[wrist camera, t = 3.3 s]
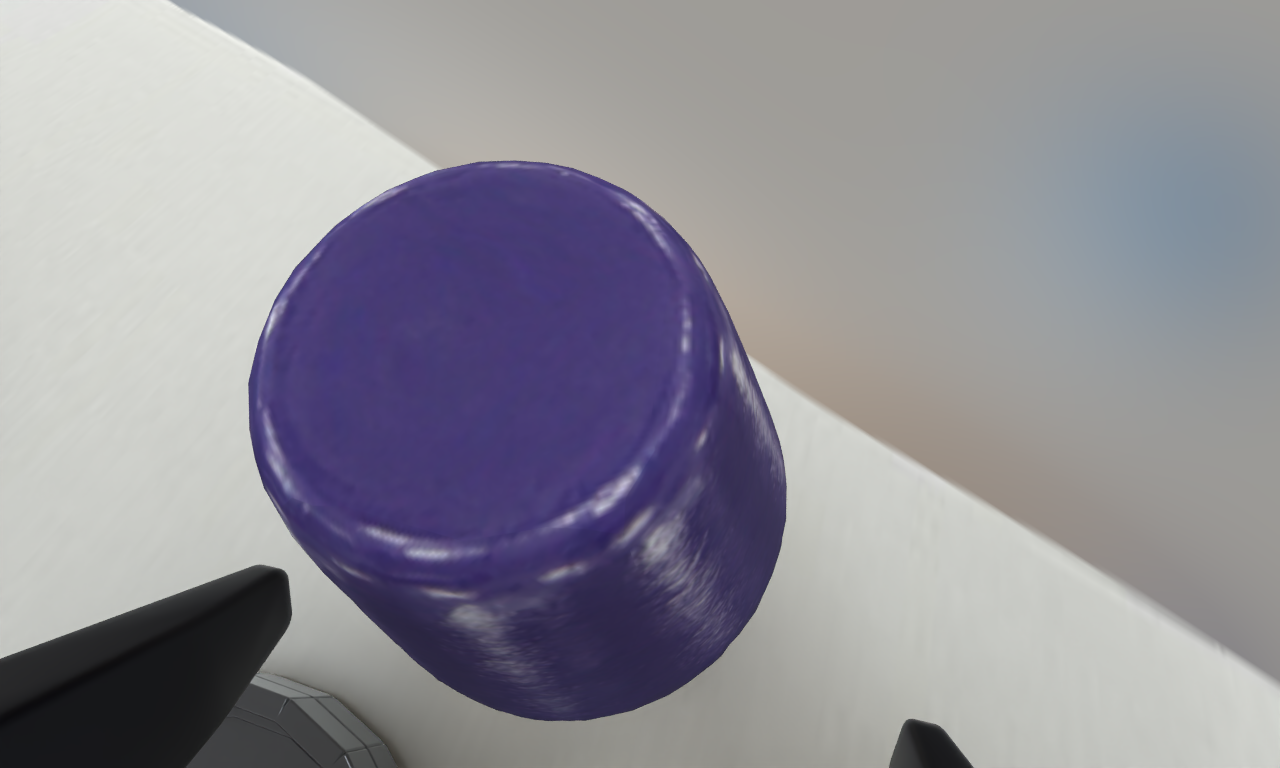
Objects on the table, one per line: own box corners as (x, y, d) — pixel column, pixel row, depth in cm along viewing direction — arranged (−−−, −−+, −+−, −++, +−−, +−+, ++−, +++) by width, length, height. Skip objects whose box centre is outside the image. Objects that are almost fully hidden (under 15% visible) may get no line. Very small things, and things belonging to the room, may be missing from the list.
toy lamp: (737, 678, 18) (1033, 663, 3) (573, 708, 18) (-37, 860, 3) (702, 512, 20) (763, -17, 5) (555, 538, 20) (153, 84, 5)
